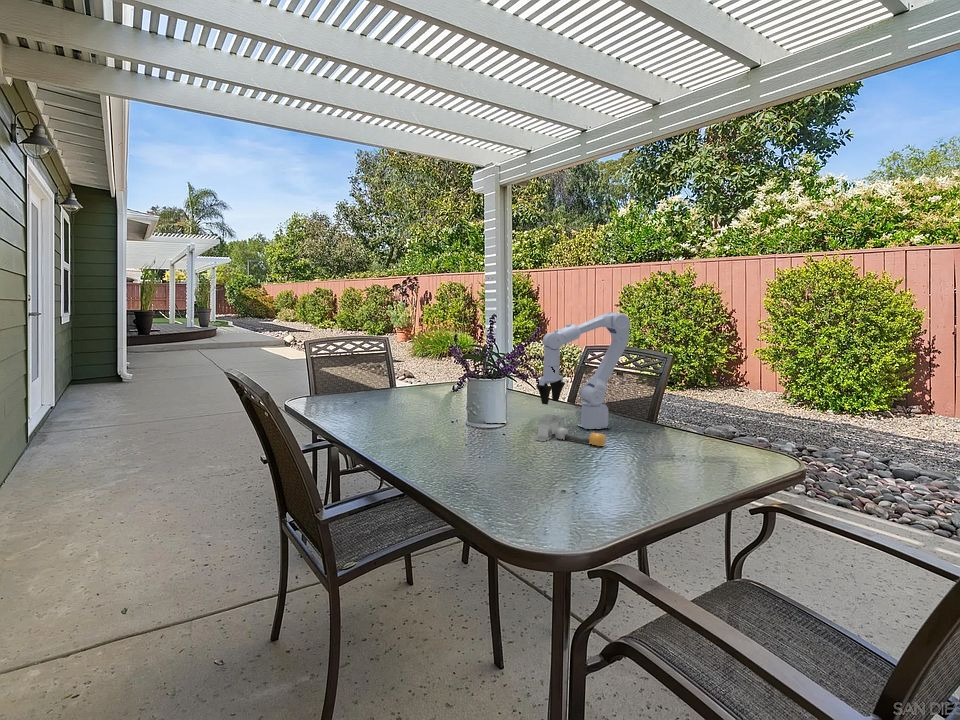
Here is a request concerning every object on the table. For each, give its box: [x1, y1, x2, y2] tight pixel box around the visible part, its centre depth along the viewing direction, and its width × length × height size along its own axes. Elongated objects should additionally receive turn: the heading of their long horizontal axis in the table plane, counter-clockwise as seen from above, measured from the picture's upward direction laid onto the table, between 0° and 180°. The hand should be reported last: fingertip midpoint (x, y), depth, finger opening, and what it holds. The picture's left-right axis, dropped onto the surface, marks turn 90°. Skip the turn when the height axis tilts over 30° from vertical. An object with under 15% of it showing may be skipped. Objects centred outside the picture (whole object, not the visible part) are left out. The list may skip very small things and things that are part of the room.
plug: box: [554, 427, 607, 447], centre depth 185 cm, size 16×4×4 cm, turn 55°
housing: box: [533, 414, 565, 442], centre depth 192 cm, size 4×16×6 cm, turn 143°
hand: (550, 402), depth 201 cm, fingers open, 7 cm apart
